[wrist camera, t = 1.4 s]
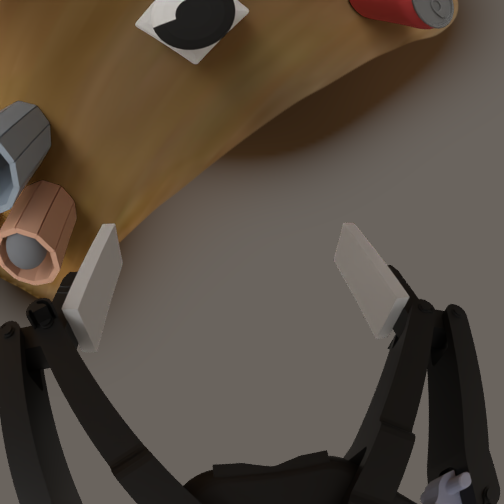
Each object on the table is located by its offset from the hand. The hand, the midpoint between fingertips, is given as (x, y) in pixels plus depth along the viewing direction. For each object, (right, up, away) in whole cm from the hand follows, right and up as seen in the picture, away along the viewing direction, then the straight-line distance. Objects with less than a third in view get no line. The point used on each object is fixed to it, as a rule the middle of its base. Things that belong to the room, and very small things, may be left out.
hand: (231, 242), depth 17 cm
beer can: (+15, +30, +6) cm, 34 cm away
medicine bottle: (-5, +24, +7) cm, 26 cm away
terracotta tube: (-28, +6, +19) cm, 34 cm away
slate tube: (-28, +14, +10) cm, 33 cm away
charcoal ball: (-27, +1, +15) cm, 31 cm away
